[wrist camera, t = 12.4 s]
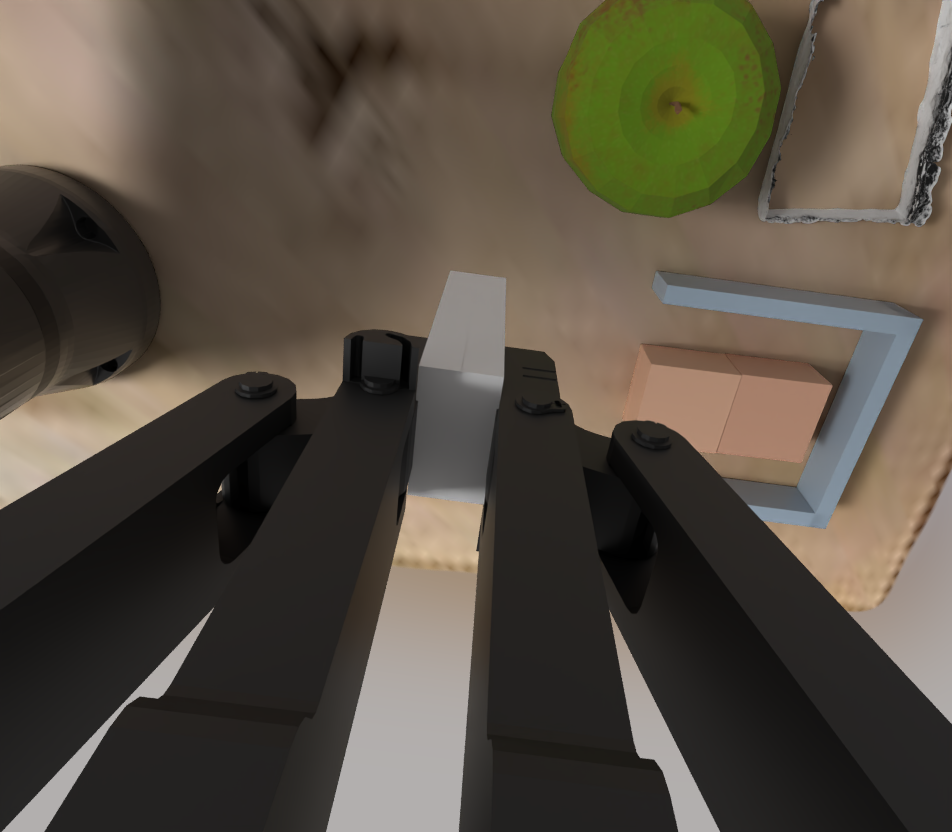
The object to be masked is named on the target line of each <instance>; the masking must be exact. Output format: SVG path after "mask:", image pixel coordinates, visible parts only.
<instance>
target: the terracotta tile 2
mask: <svg viewBox="0 0 952 832" xmlns="http://www.w3.org/2000/svg"><path fill="white" fill-rule="evenodd" d="M725 355H726V357H727V358H728V359H729V360H730V362H731V363H732V364H733V365H734V367H735V368H736V369H737V370H738V371H739V373H740V374H741V375H742V376H741V379H740V382H739V385H738V388H737V391H736V394H735V397H734V400H733V403H732V406H731V409H730V412H729V415H728V418H727V421H726V424H725V427H724V430H723V433H722V436H721V439H720V442H719V445H718V448H717V451H716V453H722V454H730V455H739V456H747V457H755V458H764V459H772V460H781V461H789V462H797V463H802V460H803V458H804V455H805V453H806V450H807V448H808V445H809V443H810V441H811V438H812V436H813V433H814V431H815V428H816V426H817V423H818V421H819V418H820V416H821V413H822V411H823V408H824V406H825V403H826V401H827V398H828V396H829V393H830V391H831V389H832V386H833V385H832V384H831V383H829V382H828V381H827V380H826V379H825V378H824V377H823V376H822V375H821V374H820V373H818V372H817V371H816V370H815V369H814V368H813V367H812V366H811V365H810V364H809V363H800V362H792V361H784V360H776V359H767V358H759V357H751V356H743V355H734V354H726V353H725Z"/></svg>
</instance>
